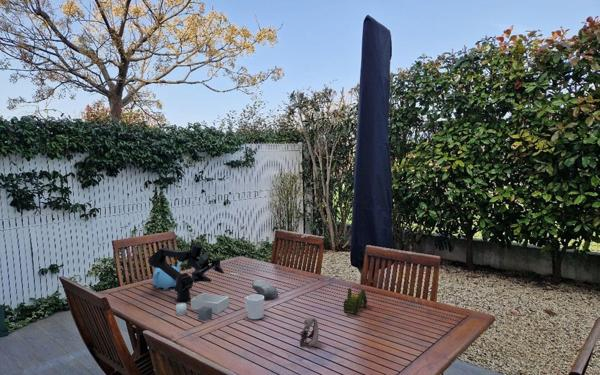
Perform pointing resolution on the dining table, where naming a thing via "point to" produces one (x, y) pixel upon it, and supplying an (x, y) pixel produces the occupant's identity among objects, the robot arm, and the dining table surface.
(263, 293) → the rock
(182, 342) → the dining table surface
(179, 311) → the jar
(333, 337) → the dining table surface
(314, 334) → the toy
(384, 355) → the dining table surface
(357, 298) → the toy
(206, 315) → the metal block
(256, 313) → the mug
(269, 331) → the dining table surface
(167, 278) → the teapot
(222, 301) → the tote
